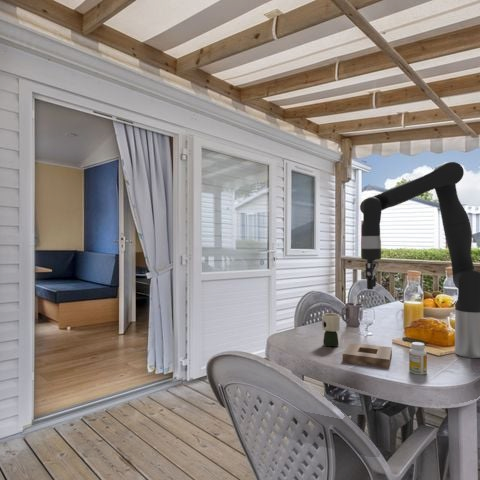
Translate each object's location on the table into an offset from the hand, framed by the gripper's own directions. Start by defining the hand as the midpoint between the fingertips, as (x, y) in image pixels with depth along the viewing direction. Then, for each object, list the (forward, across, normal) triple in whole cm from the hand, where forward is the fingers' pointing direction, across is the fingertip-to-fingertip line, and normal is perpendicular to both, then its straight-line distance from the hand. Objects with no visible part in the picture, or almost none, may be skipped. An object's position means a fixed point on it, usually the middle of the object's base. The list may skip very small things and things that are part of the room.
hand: (371, 287), depth 153 cm
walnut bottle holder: (+25, -11, 0) cm, 27 cm away
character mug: (+25, 0, +17) cm, 30 cm away
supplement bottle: (+26, -18, -17) cm, 36 cm away
